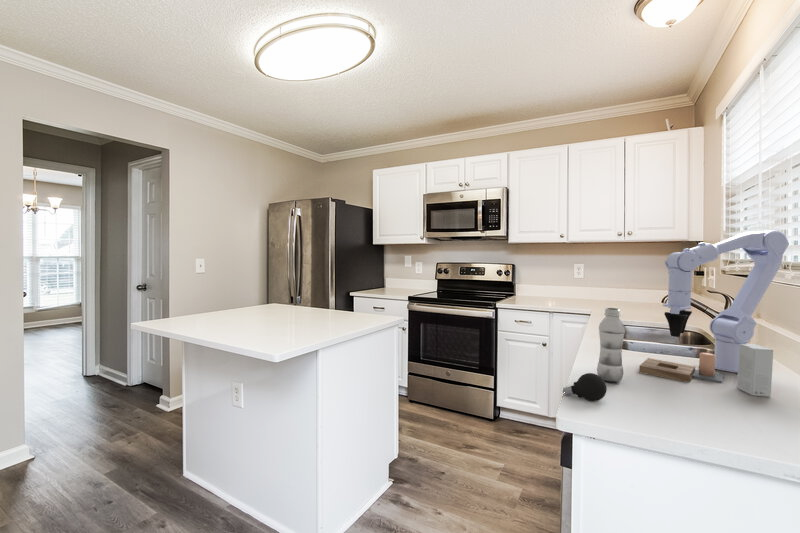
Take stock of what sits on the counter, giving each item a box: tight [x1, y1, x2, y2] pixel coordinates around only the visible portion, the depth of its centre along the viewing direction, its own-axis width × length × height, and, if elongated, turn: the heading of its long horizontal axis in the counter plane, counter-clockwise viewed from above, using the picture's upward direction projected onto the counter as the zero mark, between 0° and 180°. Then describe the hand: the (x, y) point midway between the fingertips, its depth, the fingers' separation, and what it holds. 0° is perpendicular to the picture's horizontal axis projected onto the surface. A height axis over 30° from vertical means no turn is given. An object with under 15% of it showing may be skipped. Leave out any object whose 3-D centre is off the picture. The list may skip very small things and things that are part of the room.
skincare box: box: [736, 343, 774, 398], centre depth 99 cm, size 6×4×12 cm
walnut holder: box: [638, 357, 696, 383], centre depth 115 cm, size 12×12×2 cm
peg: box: [698, 352, 716, 377], centre depth 111 cm, size 4×4×6 cm
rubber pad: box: [692, 368, 725, 384], centre depth 111 cm, size 8×7×1 cm
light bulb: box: [562, 372, 608, 402], centre depth 93 cm, size 6×6×10 cm
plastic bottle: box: [596, 307, 626, 383], centre depth 106 cm, size 6×7×20 cm
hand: (677, 334), depth 119 cm, fingers open, 7 cm apart
